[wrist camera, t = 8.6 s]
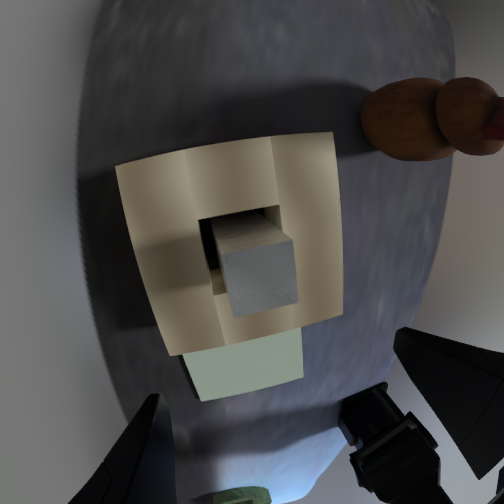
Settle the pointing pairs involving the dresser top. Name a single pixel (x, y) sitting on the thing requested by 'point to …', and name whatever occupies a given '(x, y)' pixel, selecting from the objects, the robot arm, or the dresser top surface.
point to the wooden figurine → (434, 118)
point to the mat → (246, 365)
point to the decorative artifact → (243, 496)
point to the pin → (254, 262)
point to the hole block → (224, 202)
